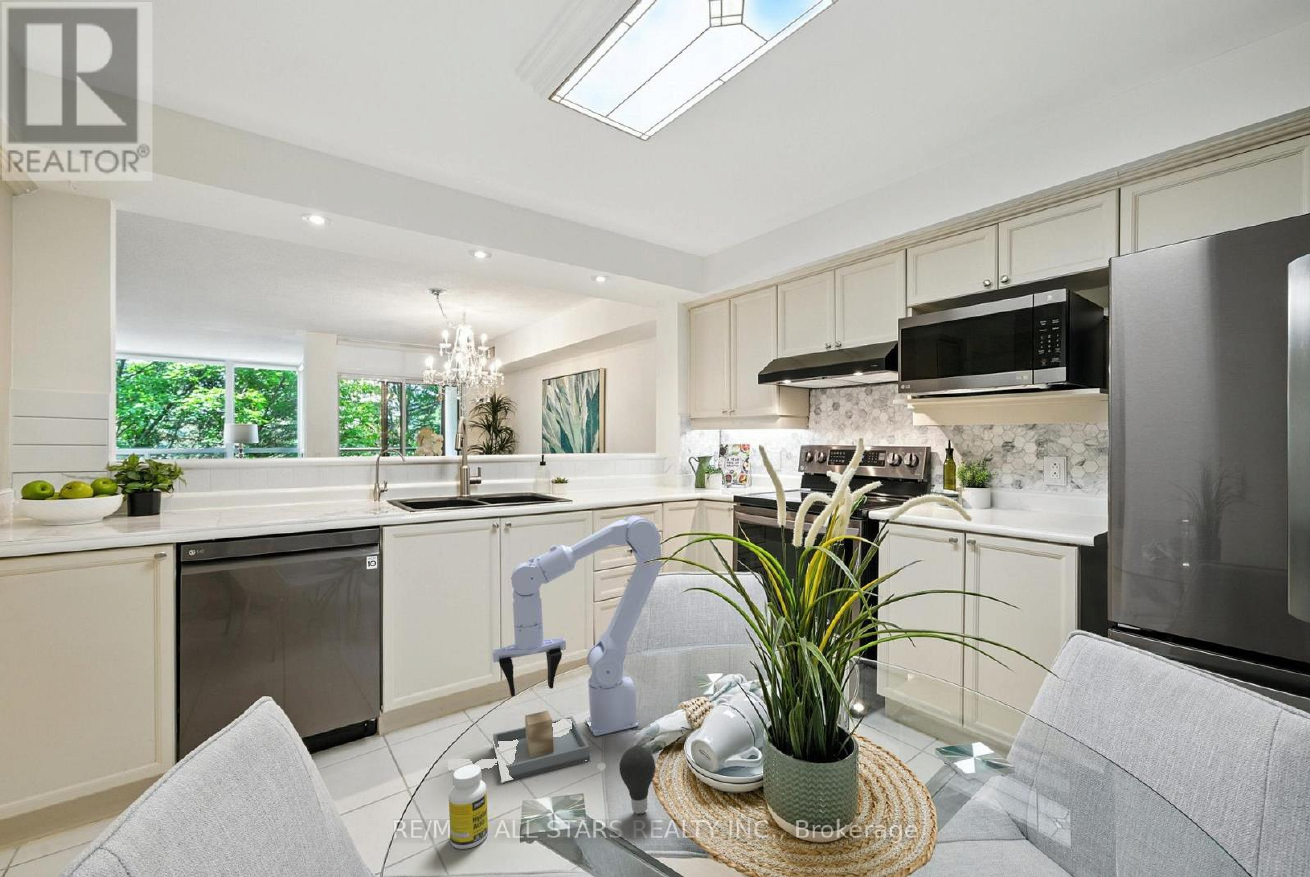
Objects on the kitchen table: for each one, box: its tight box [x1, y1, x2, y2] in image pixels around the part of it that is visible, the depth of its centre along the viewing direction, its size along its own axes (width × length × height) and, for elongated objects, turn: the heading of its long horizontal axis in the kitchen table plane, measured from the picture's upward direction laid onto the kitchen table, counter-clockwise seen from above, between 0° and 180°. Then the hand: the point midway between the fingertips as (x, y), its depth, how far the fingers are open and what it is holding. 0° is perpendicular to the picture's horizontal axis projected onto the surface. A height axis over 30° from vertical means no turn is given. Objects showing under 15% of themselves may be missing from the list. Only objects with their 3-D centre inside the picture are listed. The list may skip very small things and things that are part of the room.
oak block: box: [524, 710, 554, 758], centre depth 109 cm, size 4×4×6 cm
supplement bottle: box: [448, 764, 489, 850], centre depth 85 cm, size 5×5×10 cm
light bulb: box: [618, 745, 656, 815], centre depth 89 cm, size 6×6×10 cm
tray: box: [492, 715, 591, 781], centre depth 109 cm, size 16×14×2 cm
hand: (531, 690), depth 116 cm, fingers open, 7 cm apart
